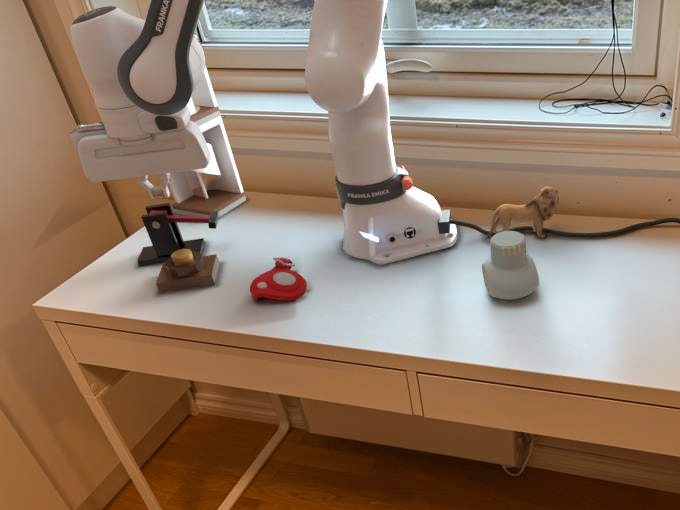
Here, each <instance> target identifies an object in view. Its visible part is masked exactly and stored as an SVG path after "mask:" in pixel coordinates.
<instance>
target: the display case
mask: <svg viewBox="0 0 680 510" xmlns="http://www.w3.org/2000/svg"><path fill="white" fill-rule="evenodd" d="M194 36H195V37H196V38H197V40H198V41H199V38H198V36H197V34H194ZM186 106H187V107H188V108H189V110H190V120H191V121H193V122H194V123H196V124H197V125H198V127H199V128H200V130H201V132H202V134H203V136H204V138H205V141H206V143H207V145H208V148H209V151H210V155H211V160H210V162H209V164H208V166H207V167H206V168H203V169H195V170H187V171H180V172H172V173H170V177H169V181H168V185H169V186H168V187H169V188H170V191H171V193H172V196H173V199H174V201H175V203H173V204H171V207H172V210H173V213H174V215H179V216H210V214H211V211H215V212H218V214H219V218H220V217H222V216H224V215H225V214H227V213H228V212H230V211H232V210H233V209H235V208H236V207H238V206H239V205H241V204H242V203H244V202H246V201H247V198H246V194H245V191H244V188H243V184H242V180H241V177H240V174H239V171H238V167H237V164H236V161H235V158H234V154H233V151H232V148H231V145H230V142H229V138H228V135H227V131H226V128H225V125H224V122H223V118H222V114H221V111H220V108H219V105H218V102H217V98H216V95H215V92H214V89H213V86H212V82H211V78H210V75H209V71H208V68H207V65H205V69H204V72H203V74H202V76H201V78H200V80H199V81H198V83H197V85H196V87H195V88H194V90H193V92H192V95H191V98H190V100H189V102H188V104H187V105H186Z"/></svg>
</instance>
